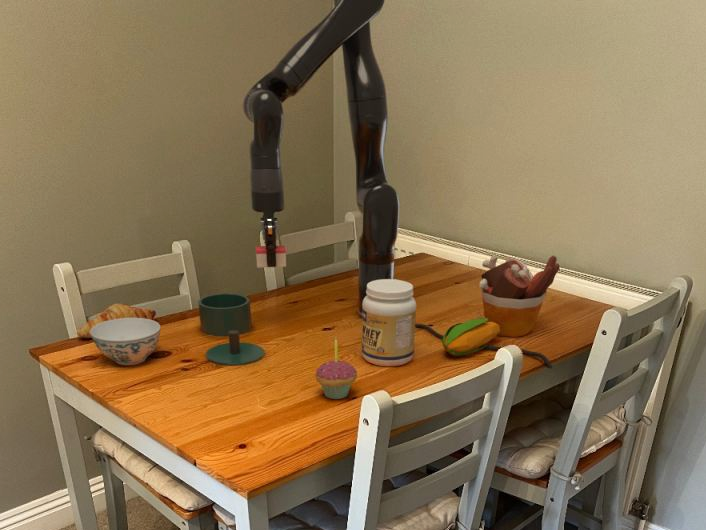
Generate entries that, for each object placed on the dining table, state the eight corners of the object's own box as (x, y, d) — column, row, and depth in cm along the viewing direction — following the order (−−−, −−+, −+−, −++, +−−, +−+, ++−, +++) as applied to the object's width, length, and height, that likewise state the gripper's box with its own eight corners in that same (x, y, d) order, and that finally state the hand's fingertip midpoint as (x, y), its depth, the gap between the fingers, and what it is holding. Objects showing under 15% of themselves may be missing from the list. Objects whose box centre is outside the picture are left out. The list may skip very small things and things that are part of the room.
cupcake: (315, 387, 159) (314, 332, 152) (355, 386, 159) (355, 331, 153) (317, 403, 151) (315, 347, 145) (358, 402, 152) (358, 346, 146)
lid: (275, 353, 175) (274, 328, 172) (242, 372, 165) (240, 346, 162) (229, 343, 180) (227, 318, 177) (194, 361, 170) (191, 335, 167)
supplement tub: (351, 355, 174) (351, 283, 165) (391, 345, 181) (393, 274, 171) (383, 372, 166) (385, 296, 157) (424, 360, 172) (428, 287, 163)
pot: (261, 327, 190) (259, 298, 186) (231, 341, 181) (229, 311, 177) (221, 319, 195) (219, 290, 191) (191, 333, 186) (188, 303, 182)
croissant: (88, 357, 180) (89, 333, 174) (66, 329, 183) (66, 304, 176) (163, 334, 193) (167, 311, 186) (141, 309, 195) (145, 285, 189)
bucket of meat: (461, 331, 190) (467, 251, 179) (489, 314, 201) (497, 238, 190) (534, 348, 180) (545, 264, 170) (559, 329, 192) (572, 250, 181)
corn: (435, 324, 171) (488, 305, 183) (431, 355, 175) (483, 335, 187) (460, 334, 167) (512, 314, 179) (455, 365, 171) (507, 344, 183)
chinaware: (129, 379, 161) (123, 345, 156) (82, 364, 167) (75, 331, 163) (178, 358, 171) (174, 325, 167) (132, 345, 178) (127, 313, 174)
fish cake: (285, 262, 183) (284, 245, 181) (286, 267, 179) (285, 249, 177) (256, 262, 182) (255, 246, 180) (257, 267, 179) (256, 250, 176)
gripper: (285, 193, 166) (288, 271, 175) (281, 182, 178) (285, 256, 187) (251, 194, 165) (256, 272, 174) (250, 183, 177) (255, 256, 186)
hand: (271, 263), depth 181 cm, fingers closed on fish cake, 4 cm apart
